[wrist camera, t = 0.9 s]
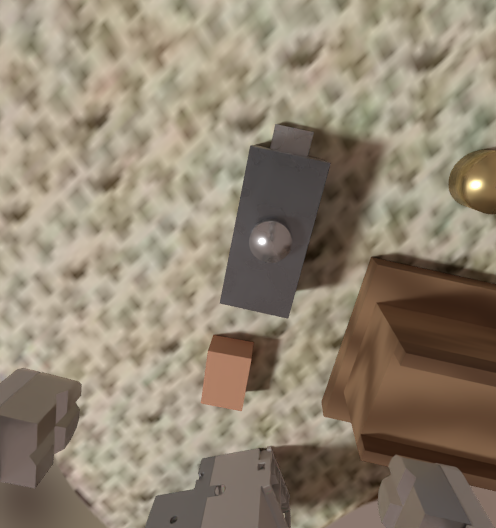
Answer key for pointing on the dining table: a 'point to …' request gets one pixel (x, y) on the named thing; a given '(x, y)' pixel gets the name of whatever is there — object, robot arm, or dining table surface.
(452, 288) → the stand
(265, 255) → the slider plate with knob
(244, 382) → the terracotta block
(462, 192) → the brass knob
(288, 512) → the circuit breaker
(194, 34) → the dining table surface
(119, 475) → the dining table surface
